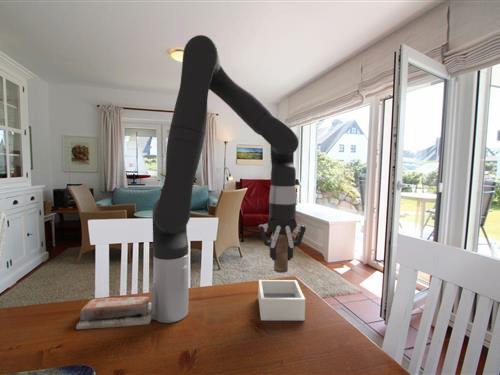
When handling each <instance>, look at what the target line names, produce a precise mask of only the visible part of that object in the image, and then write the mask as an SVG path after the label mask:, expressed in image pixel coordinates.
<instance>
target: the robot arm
mask: <svg viewBox="0 0 500 375" xmlns="http://www.w3.org/2000/svg"><path fill="white" fill-rule="evenodd" d="M182 52H183V54H182V64H181V73H180V75H181V76H180V83H179V90H178V93H177V98H176V101H175V105H174V110H173V114H172V118H171V123H170V127H169V131H168V132H169V133H168V137H167V142H166V153H165V175H164V181H163V185H162V189H161V193H160V196H159V199H157V200H156V202H155V203H154V205H153V207H152V249H153V282H152V283H151V286H150V294H151V295H150V299H151V300H150V302H151V317H152V319H151V321H152V320H155V321H157V322H159V323H165V324H172V323H177V322H179V321H181V320H183V319H184V318H186V316H188V314H189V241H188V234H187V232H188V229H187V226H188V224H189V221H190V218H191V212H192V200H193V199H192V197H193V191H194V190H193V188H194V182H195V179H196V174H197V171H198V168H199V165H200V159H201V155H202V151H203V147H204V142H205V136H206V132H207V131H206V130H207V122H208V121H207V119H208V98H209V97H208V95H209V91H211V92H212V93H213V94H215V95H216V96H217V97H218V98H220V99H221V100H222V101H223V102H224V103H225V104H226V105H227V106H228V107H229V108H230V109H231V110H232V111H233V112H234V113H235V114H236V115H237V116H238V117H239V118H240V119H241V120H242V121H243V123H245V124H246V125H247V126H248V127H249V128H250V129H251V130H252V131H254V133H256V134H257V135H260V136H261V137H262V138H263V139H264V140H265V141H266V142H267V143H268V144H269V146H270V163H271V164H270V165H271V170H270V171H271V172H270V188H269V189H270V190H269V197H268V198H269V199H268V200H269V205H268V206H269V210H268V211H269V212H268V215H269V216H268V221H267V222H266V223H264V224H259V225H258V229H259V232H260V235H261V238H262V241H263V244H264V246H265V247H269V257H270V259H271V260H272V261H274V260H275V244H276V241H277V238H278V235H279V234H287V237H288V262H289V261H291V260H292V259H293V258H294V248H295V247H300V246H301V243H302V240H303V238H304V235H305V233H306V230H307V227H305V225H304V224H299V223H298V222H297V221H296V220H297V219H296V214H297V213H296V212H297V211H296V210H297V209H296V208H297V206H296V205H297V191H296V185H297V183H296V182H297V180H296V179H297V177H296V176H297V170H296V167H295V166H294V165H295V164H294V158H295V157H294V156H295V155H294V154H295V152H296V151H297V150H298V147H299V137H298V136H297V134H296V132H295V131H294V130H293V129H292V128H290V126H288V124H286V123H284V122H283V121H282V120H280V119H279V118H278V117H276V115H274V114H273V113H272V111H270V109H269V108H268V107H267V106H266V105H265V104H264V103H263V102H262V101H261V100H260V99H259V98H257V97H256V96H255V95H254V94H252V93H251V92H249V91H248V90H246V89H245V88H243V87H242V86H240V85H239V84H238V83H237V82H235V81H234V80H233V79H232V78H231V77H230V76H229V74H228V73H227V72H226V71H225V70H224V68H223V67H222V65H221V61H220V53H219V50H218V47H217V45H216V44H215V42H214V41H213V40H212V39H211V38H210V37H209V36H208V35H202V34H199V35H195V36H193V37H191V38H190V39H189V40H188V41H187V43H186V44H185V46H184V49H183V51H182ZM268 228H269V231H271V232H272V233H271V236H270V240H268V238H267V235H266V232H267V231H268ZM295 229H296V231H297V233H296V236H295V238H294V240H293V235H292V233H293V232H294V230H295ZM275 236H276V237H275Z"/></svg>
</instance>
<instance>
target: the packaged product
mask: <svg viewBox="0 0 500 375" xmlns="http://www.w3.org/2000/svg"><path fill="white" fill-rule="evenodd" d="M150 299H151V297H150V296H131V297H130V296H129V297H105V298H94V299H90V300H88V302H87V304H85V305H84V306H83V307H82V309H81V310H80V313H79V315H80V320H79V321H78V323H76V330H86V329H87V330H88V329H102V328H103V329H104V328H116V327H118V328H120V327H129V326H130V327H131V326H132V327H133V326H142V325H143V326H144V325H150V323H151V322H152V317H151V301H150Z"/></svg>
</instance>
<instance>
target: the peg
mask: <svg viewBox="0 0 500 375" xmlns="http://www.w3.org/2000/svg"><path fill="white" fill-rule="evenodd" d="M275 237H276V236H275ZM288 269H289V261H288V237H287V234H279V235H278V238H277V241H276V244H275V260H273V272H275V273H279V274H280V273H281V274H284V273H287V272H289V271H288Z"/></svg>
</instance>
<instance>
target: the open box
mask: <svg viewBox="0 0 500 375" xmlns="http://www.w3.org/2000/svg"><path fill="white" fill-rule="evenodd" d="M257 294H258V296H257V299H258V308H259V315H260V316H259V317H260V321H305V318H306V297H305V295H304V294H303V292H302V289H301V287H300V285H299V283H298V281H297V280H296V279H258V291H257Z"/></svg>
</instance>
